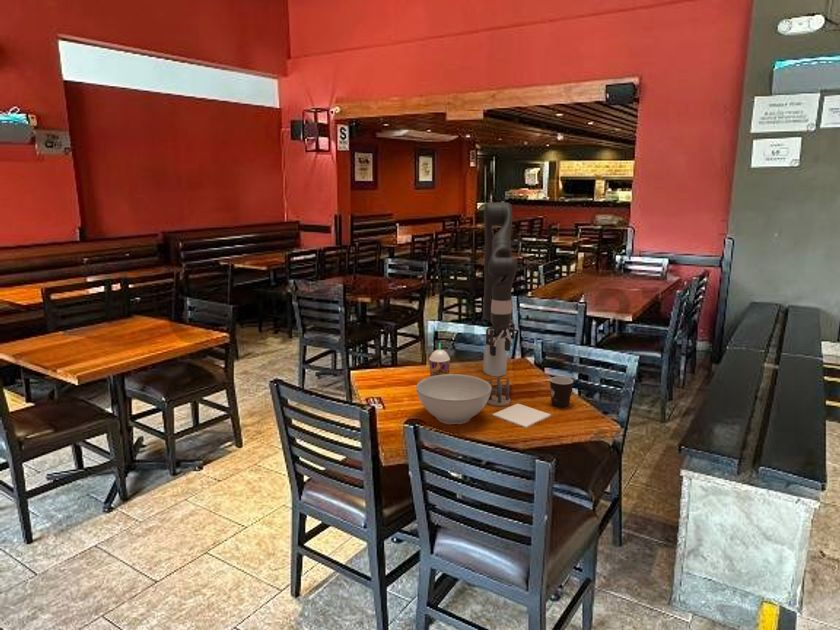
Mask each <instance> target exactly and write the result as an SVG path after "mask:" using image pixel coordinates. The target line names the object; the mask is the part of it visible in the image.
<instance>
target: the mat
mask: <svg viewBox="0 0 840 630" xmlns="http://www.w3.org/2000/svg"><path fill="white" fill-rule="evenodd" d="M492 415H493V416H492ZM491 416H492V417H494V416H495V418H496V419H500V420H503V421H505V420H506V422H507V423H511V424H513V423H514V425H517V426H519V427H521V426H522V428H525V429H527V428H530V427H532V426H534V425H535V423H536V424H538V423H539V421H540V422H542V421H544V420H547V419H548V418H550V417H552V414H551V413H547V412H545V411H541V410H539V409H536V408H532V407H530V406H526V405H524V404H520V403H515V404H513V405H511V406H507V407H506V408H504V409H502V410H499V411H497V412H494V413H493V414H491ZM537 422H538V423H537Z"/></svg>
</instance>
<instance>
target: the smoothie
mask: <svg viewBox="0 0 840 630" xmlns="http://www.w3.org/2000/svg"><path fill="white" fill-rule="evenodd" d="M441 344H442V343H441V342H439V343H438V349H436V350H433V351H432V353H431V354H430V356H429V358H428V359H429V372H430V373H429V374H430V376H429V377H431V376H436V375H444V374H450V365H451V357H450V356H449V354H448V352H446V350H444V349H441Z"/></svg>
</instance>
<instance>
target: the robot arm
mask: <svg viewBox="0 0 840 630" xmlns="http://www.w3.org/2000/svg"><path fill="white" fill-rule="evenodd" d="M483 208H484V210H483V221H484V223H483V224H484V261H483V272H484V288H483V289H484V290H483V293H484V294H483V302H482V303H483V304H482V305H483V306H482V307H483V308H482V312H483V314H482V315H483V318H484V320H486V321H490V323H491V325H492V326H489V327H487V328H486V330H485V350H484V351H483V365H482V366H483V367H482V369H483V373H485V375H487V376H491V377H497V376H500V377H503V376H505V375H507V363H508V362H507V359H508V355H507V354H508V352H510V351H511V347H512V345H511V344H512V341H513V340H514V339H515V338H516V328H515V327H516V325H515V323H512V309H513V306H512V305H513V304H512V292H513V291H512V288H513V285H514V284H513V283H514V279H515V276H516V274H517V270H518V262H517V260H516V259H515V258H514V257H511V256H512V246H511V236H512V235H511V234H512V228H513V208H512V204H511V203H510V202H504V201H503V202H502V201H501V202H498V201H497V202H487V203H486V204H485V205H484V207H483ZM496 226H497V227H500V229H499V230H498V231H497V232H496V233H494V230H493V227H496ZM501 226H502V227H501ZM504 277H506V278H505V280H503V278H504ZM502 280H503V281H502Z"/></svg>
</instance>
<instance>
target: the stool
mask: <svg viewBox="0 0 840 630" xmlns="http://www.w3.org/2000/svg"><path fill="white" fill-rule="evenodd" d="M488 383H489V384H490V385H491V387H492V390H491V394H490V397H489V399H488V401H487V403H486V405H488V406H490V407H493V406H494V408H505V407H506V408H507V407H510V405H511V398H510V391H511V389H510V379H509V378H507V379H506V380H505V386H504V385H503V384H502V383H503V382H502V381H501V376H496V385H495V388H493V379H492V378H489V379H488ZM503 392H505V395H502V394H503ZM493 393H494V395H493Z"/></svg>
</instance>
